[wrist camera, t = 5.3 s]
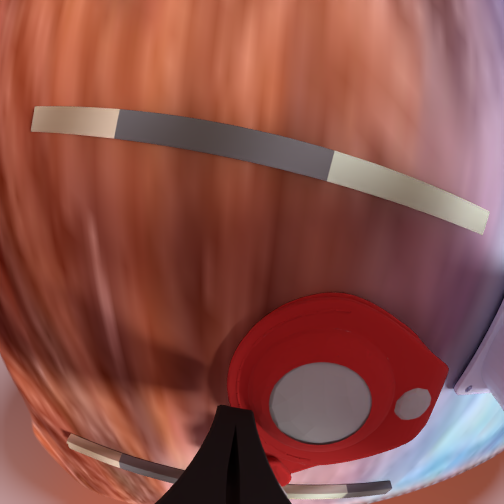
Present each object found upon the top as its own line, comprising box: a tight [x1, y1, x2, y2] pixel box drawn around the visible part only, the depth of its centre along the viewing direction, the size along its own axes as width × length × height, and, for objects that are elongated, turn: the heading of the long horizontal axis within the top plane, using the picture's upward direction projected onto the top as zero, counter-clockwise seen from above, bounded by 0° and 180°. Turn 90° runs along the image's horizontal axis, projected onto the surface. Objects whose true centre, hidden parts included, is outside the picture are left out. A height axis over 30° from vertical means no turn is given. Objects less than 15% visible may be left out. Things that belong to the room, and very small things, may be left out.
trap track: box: [31, 106, 489, 499], centre depth 13 cm, size 24×21×1 cm
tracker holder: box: [227, 293, 449, 498], centre depth 12 cm, size 12×4×10 cm
